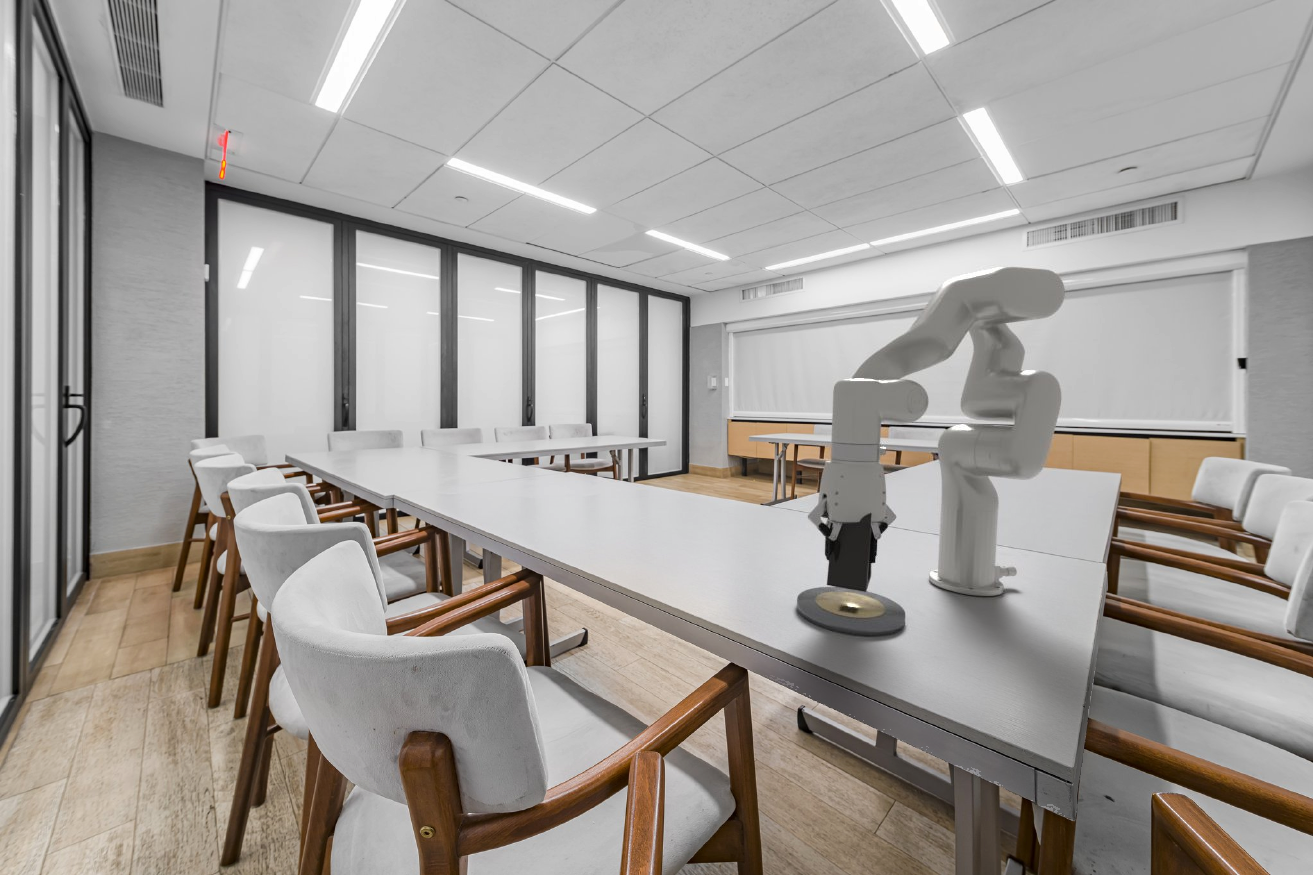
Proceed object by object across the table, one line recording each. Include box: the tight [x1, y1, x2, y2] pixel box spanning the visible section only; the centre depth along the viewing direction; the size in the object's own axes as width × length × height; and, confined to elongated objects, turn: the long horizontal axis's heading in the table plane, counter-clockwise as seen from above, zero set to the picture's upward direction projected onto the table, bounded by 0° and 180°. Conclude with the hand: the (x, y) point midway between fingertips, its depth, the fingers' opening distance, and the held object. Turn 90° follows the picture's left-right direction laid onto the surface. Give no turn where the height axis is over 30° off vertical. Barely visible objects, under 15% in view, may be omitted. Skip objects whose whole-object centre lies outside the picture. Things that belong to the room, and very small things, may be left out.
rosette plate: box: [796, 586, 906, 637], centre depth 86 cm, size 17×17×2 cm
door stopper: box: [826, 513, 872, 592], centre depth 85 cm, size 9×6×12 cm, turn 152°
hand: (850, 560), depth 85 cm, fingers closed on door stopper, 5 cm apart
